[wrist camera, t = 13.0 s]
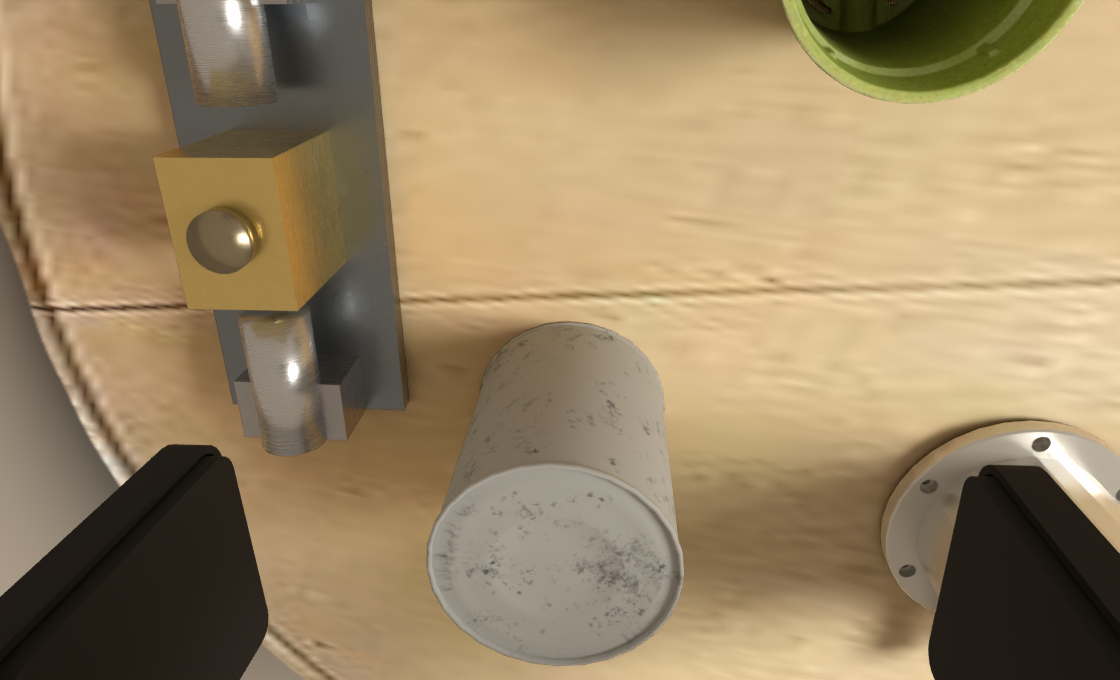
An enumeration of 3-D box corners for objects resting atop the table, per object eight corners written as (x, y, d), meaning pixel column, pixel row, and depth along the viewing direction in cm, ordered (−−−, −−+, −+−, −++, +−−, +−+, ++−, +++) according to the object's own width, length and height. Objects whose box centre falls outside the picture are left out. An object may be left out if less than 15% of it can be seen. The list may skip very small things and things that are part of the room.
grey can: (586, 511, 42) (575, 701, 30) (444, 415, 40) (377, 582, 28) (703, 395, 38) (740, 562, 27) (554, 284, 36) (527, 414, 25)
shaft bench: (409, 400, 39) (379, 460, 34) (241, 394, 40) (188, 452, 35) (363, -80, 30) (314, -94, 25) (146, -79, 31) (55, -93, 26)
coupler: (228, 129, 33) (140, 161, 27) (329, 130, 33) (262, 162, 26) (253, 260, 35) (177, 316, 29) (346, 261, 35) (289, 319, 29)
